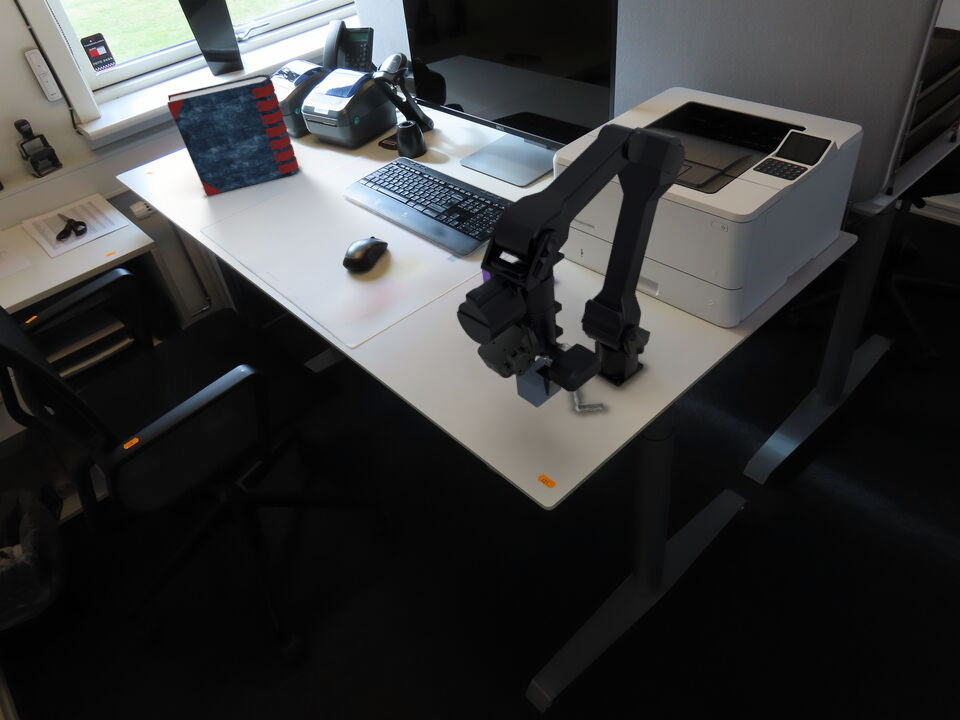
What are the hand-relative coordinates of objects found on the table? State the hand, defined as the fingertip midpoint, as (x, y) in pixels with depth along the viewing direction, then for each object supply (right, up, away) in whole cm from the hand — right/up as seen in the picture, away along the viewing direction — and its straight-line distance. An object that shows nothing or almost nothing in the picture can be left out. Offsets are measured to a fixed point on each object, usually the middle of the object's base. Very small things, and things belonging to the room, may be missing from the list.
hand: (539, 386), depth 96 cm
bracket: (-1, +18, +36) cm, 40 cm away
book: (-70, +52, +85) cm, 121 cm away
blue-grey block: (0, -1, +1) cm, 1 cm away
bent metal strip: (+8, -3, +11) cm, 14 cm away
